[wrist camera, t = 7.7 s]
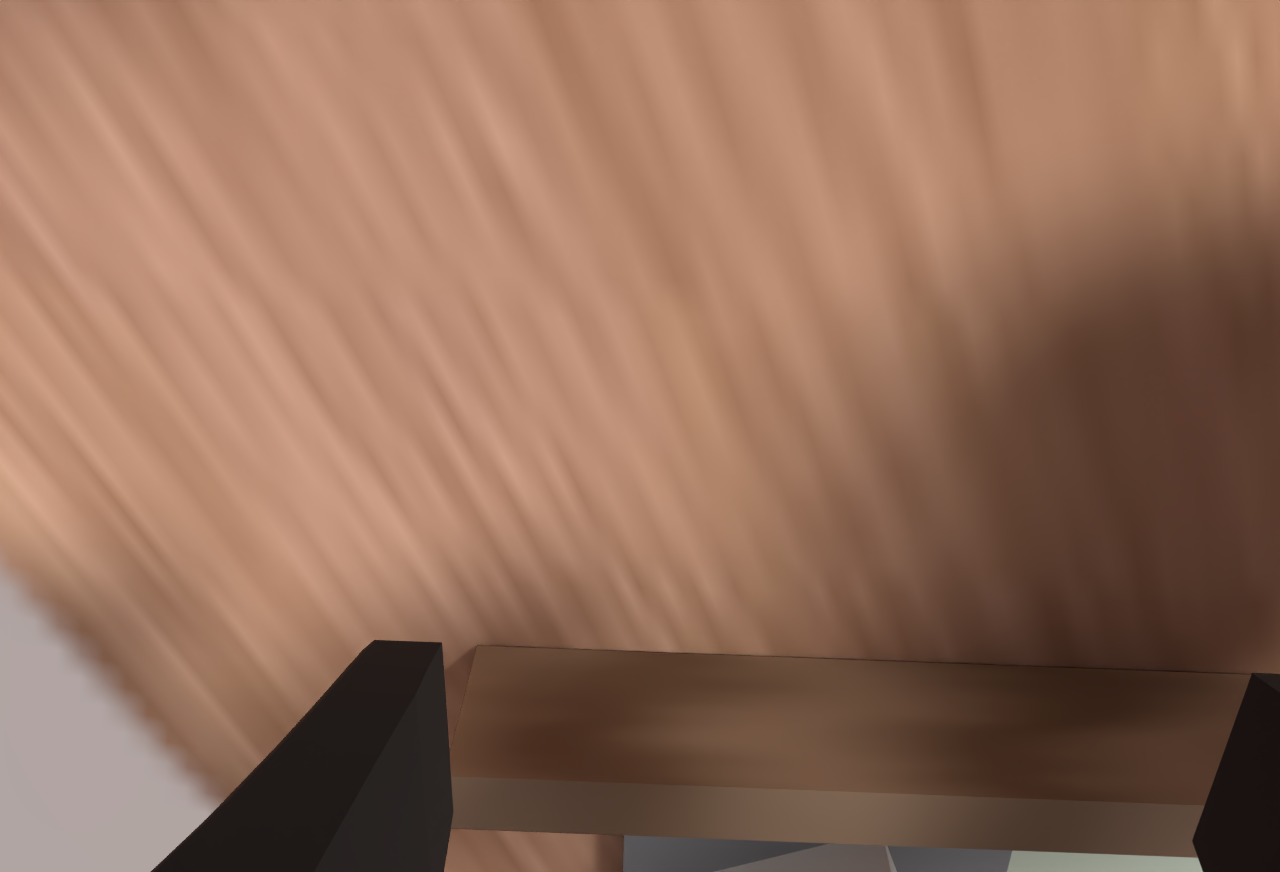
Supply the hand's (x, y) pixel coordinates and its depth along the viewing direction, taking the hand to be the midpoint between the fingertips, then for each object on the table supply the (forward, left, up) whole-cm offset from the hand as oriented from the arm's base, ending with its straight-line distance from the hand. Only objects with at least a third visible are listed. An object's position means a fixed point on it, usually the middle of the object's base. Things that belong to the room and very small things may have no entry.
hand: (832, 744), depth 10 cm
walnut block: (-5, +7, -9) cm, 13 cm away
